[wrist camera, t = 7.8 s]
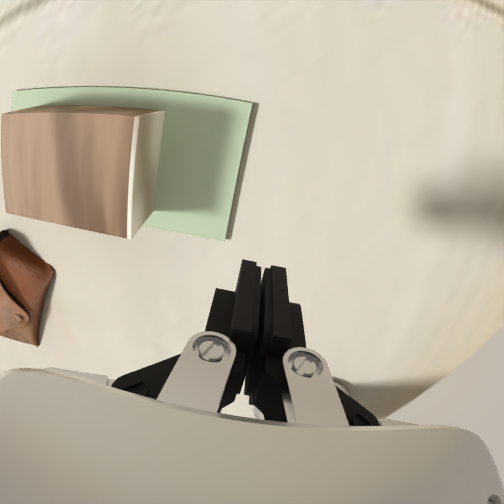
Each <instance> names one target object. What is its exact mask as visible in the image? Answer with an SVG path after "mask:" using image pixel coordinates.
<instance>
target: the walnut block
mask: <svg viewBox="0 0 504 504" xmlns="http://www.w3.org/2000/svg"><path fill="white" fill-rule="evenodd" d="M164 118H165V111H162V110H152V109H141V108H129V107H113V106H91V105H40V106H35V107H30V108H25V109H21V110H17V111H12V112H8V113H4V114H2V118H1V157H2V176H3V189H4V199H5V207H6V213H10V214H15V215H19V216H24V217H28V218H33V219H37V220H42V221H47V222H51V223H56V224H61V225H65V226H70V227H75V228H80V229H84V230H89V231H94V232H99V233H103V234H108V235H113V236H118V237H123V238H127V239H132V237H133V236H134V235H135V234H136V232H137V231H138V230H139V229H140V227H141V226H142V225H143V224H144V223H145V221H146V220H147V219H148V218H149V216H150V215H151V214H152V213H153V212H154V206H155V194H156V183H157V173H158V164H159V155H160V147H161V139H162V131H163V124H164Z"/></svg>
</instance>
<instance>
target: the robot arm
mask: <svg viewBox="0 0 504 504" xmlns="http://www.w3.org/2000/svg"><path fill="white" fill-rule="evenodd" d="M244 379H245V388H244V395H248V396H249V404H250V405H254V408H253V412H254V416H255V418H256V419H253V418H246V417H240V416H233V415H227V414H222V413H221V410H222V408H223V407H225V406H227V405H229V404H230V403H232V402H234V400H235V397H236V394H240V392H241V389H242V385H243V382H244ZM0 504H504V488H503V485H502V482H501V479H500V476H499V473H498V470H497V468H496V465H495V462H494V460H493V458H492V456H491V454H490V452H489V450H488V448H487V446H486V444H485V443H484V441H483V440H482V439H481V438H480V437H479V436H478V435H476V434H474V433H472V432H470V431H468V430H464V429H461V428H457V427H451V426H444V425H416V424H411V423H405V422H400V421H394V420H389V419H384V418H382V419H381V420H380V421H378V420H377V418H376V417H375V416H374V415H373V414H372V413H371V412H369V411H368V410H367V409H365V408H364V407H363V406H361V405H360V404H359V403H357V402H356V401H355V400H354V399H352V398H351V397H350V396H349V393H348V391H347V390H346V389H345V388H344V387H343V386H342V385H340V384H339V383H337V382H334V381H333V378H332V376H331V373H330V370H329V367H328V365H327V363H326V361H325V359H324V358H323V357H322V356H321V355H320V354H319V353H317V352H315V351H314V350H311V349H308V348H306V342H305V334H304V326H303V319H302V312H301V306H300V304H296V303H290V302H289V296H288V286H287V275H286V268H283V267H278V266H273V265H271V267H270V269H269V268H265V270H264V274H263V278H262V281H261V267H259V266H256V262H253V261H248V260H243V259H242V264H241V268H240V273H239V277H238V282H237V287H236V291H235V292H233V291H228V290H223V289H218V288H216V290H215V294H214V298H213V302H212V306H211V309H210V313H209V317H208V321H207V325H206V329H205V331H204V332H200V333H197V334H195V335H193V336H192V337H191V338H190V339H189V341H188V342H187V344H186V346H185V348H184V350H183V352H182V353H181V354H179V355H176V356H174V357H171V358H169V359H166V360H163V361H161V362H158V363H156V364H153V365H150V366H148V367H145V368H142V369H139V370H137V371H134V372H131V373H128V374H125V375H123V376H121V377H119V378H117V379H116V380H111V379H108V376H105V375H97V374H90V373H83V372H77V371H70V370H64V369H59V368H45V369H32V368H20V369H12V370H9V371H6V372H4V373H2V374H0Z"/></svg>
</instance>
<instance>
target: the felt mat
mask: <svg viewBox="0 0 504 504" xmlns="http://www.w3.org/2000/svg"><path fill="white" fill-rule="evenodd" d="M252 104H253V103H249V102H243V101H238V100H232V99H226V98H220V97H214V96H207V95H199V94H192V93H183V92H174V91H164V90H152V89H138V88H117V87H63V88H43V89H30V90H19V91H13V95H12V110H11V112H12V111H17V110H21V109H25V108H30V107H35V106H40V105H91V106H113V107H129V108H141V109H152V110H162V111H165V118H164V124H163V131H162V139H161V147H160V155H159V164H158V173H157V183H156V194H155V206H154V212H153V213H152V214H151V215H150V216H149V218H148V219H147V220H146V221H145V223H144V224H143V225H142V226H147V227H153V228H158V229H163V230H168V231H173V232H178V233H183V234H188V235H194V236H199V237H204V238H209V239H214V240H219V241H224V242H225V238H226V233H227V228H228V222H229V217H230V212H231V206H232V201H233V196H234V191H235V186H236V181H237V176H238V171H239V166H240V161H241V156H242V151H243V146H244V141H245V137H246V132H247V127H248V122H249V118H250V113H251V108H252Z"/></svg>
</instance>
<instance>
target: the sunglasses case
mask: <svg viewBox="0 0 504 504" xmlns="http://www.w3.org/2000/svg"><path fill="white" fill-rule="evenodd" d="M53 275H54V269H53V267H52V266H51V265H50V264H48V263H46V262H44V261H43V260H42V259H40V258H39V257H38V256H37V255H35V254H34V253H33V252H32V251H30V250H29V249H28V248H27V247H25V246H24V245H23V244H22V243H21V242H19V241H18V240H17V239H16V238H15V237H13V236H12V235H11V234H9V233H8V230H3V231H1V232H0V336H3V337H7V338H10V339H13V340H16V341H20V342H24V343H28V344H32V345H35V346H36V347H38V346H39V338H38V334H39V324H40V318H41V313H42V308H43V304H44V299H45V296H46V291H47V289H48V286H49V283H50V281H51V279H52V277H53Z"/></svg>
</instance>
